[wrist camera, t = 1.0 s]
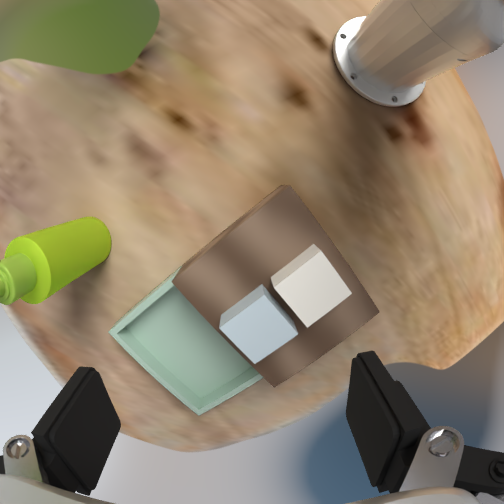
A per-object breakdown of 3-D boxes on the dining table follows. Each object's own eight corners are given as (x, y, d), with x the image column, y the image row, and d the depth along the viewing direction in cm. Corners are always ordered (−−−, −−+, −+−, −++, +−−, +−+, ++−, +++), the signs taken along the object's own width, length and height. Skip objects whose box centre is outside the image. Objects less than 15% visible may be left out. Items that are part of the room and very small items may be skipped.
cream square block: (313, 243, 27) (321, 250, 25) (342, 283, 28) (352, 293, 26) (270, 277, 28) (273, 287, 25) (301, 314, 29) (307, 327, 26)
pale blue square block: (262, 283, 28) (264, 294, 25) (293, 320, 29) (298, 334, 26) (221, 314, 29) (219, 328, 26) (253, 348, 30) (254, 364, 27)
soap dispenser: (100, 201, 32) (-26, 230, 12) (117, 257, 33) (10, 335, 14) (63, 216, 32) (-60, 254, 12) (80, 269, 33) (-28, 342, 14)
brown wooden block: (281, 184, 32) (290, 185, 26) (360, 292, 35) (379, 311, 29) (182, 264, 34) (171, 281, 28) (269, 358, 37) (274, 387, 31)
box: (181, 265, 34) (176, 273, 31) (268, 359, 37) (270, 373, 34) (117, 321, 35) (108, 332, 32) (200, 401, 38) (198, 415, 35)
